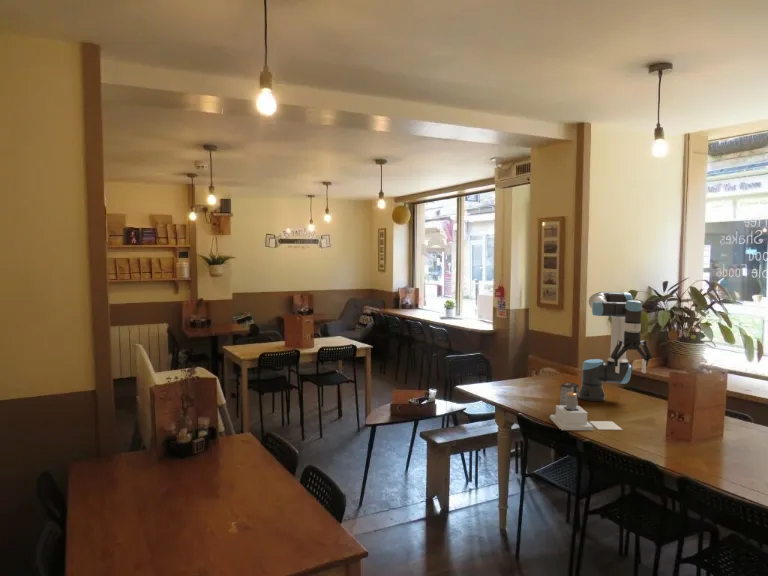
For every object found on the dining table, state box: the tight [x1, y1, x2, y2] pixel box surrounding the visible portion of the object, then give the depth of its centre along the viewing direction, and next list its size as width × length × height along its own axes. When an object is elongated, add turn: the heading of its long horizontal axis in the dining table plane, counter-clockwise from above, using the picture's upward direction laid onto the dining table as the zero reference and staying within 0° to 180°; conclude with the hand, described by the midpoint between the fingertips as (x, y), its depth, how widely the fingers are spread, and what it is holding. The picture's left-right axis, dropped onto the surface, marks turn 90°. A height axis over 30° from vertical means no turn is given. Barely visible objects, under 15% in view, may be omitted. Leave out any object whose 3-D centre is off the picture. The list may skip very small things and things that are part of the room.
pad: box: [588, 420, 623, 431], centre depth 268 cm, size 12×12×1 cm
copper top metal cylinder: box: [566, 392, 577, 411], centre depth 269 cm, size 5×5×14 cm
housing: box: [549, 404, 594, 431], centre depth 270 cm, size 18×16×8 cm
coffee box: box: [559, 381, 579, 406], centre depth 287 cm, size 9×6×16 cm
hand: (630, 372), depth 267 cm, fingers open, 13 cm apart
